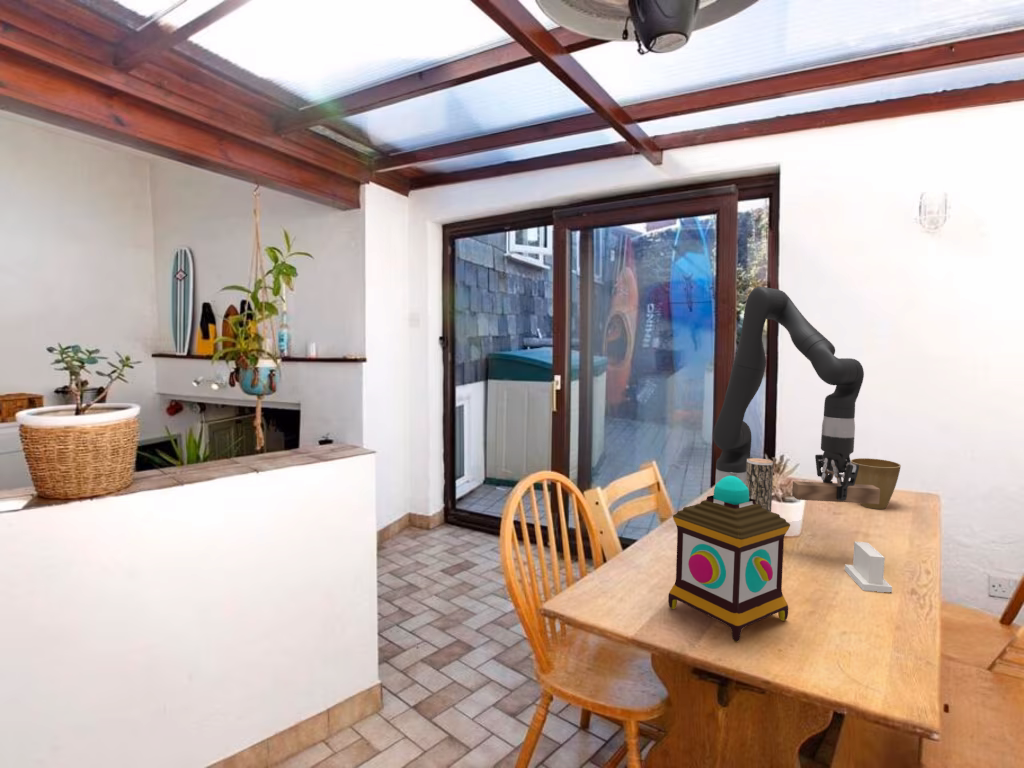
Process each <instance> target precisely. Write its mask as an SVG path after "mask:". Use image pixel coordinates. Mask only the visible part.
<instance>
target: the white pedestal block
mask: <svg viewBox="0 0 1024 768" xmlns="http://www.w3.org/2000/svg"><path fill="white" fill-rule="evenodd" d="M853 543H854V544H853V559H852V564H846V563H845V564H844V572H846V573H847V575H849V577H850V578H851V579H852V581H854V582H855V584H856V585H857V586H858V587H859V588H860V589H861V590H862V591H863V590H864V591H865V592H874V591H877V593H884V592H892V593H893V586H892V585H891V584H889V582H888V581H887V580H886V579H885V576H884V575H885V574H884V573H885V560H886V559H885V558H886V557H885V556H883V555H882V554H881V553H880V552H879V551H878V549H875V547H874V546H872V545H871V544H870V543H869V542H864V541H853Z"/></svg>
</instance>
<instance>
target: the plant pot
mask: <svg viewBox="0 0 1024 768" xmlns="http://www.w3.org/2000/svg"><path fill="white" fill-rule="evenodd" d="M850 460H851V463H853V464H858V465H859V470H858V473H857V477H856V481H855V484H861V485H873V486H875V487H877V488H879V489H880V499H879V504H868V503H860V505H861V506H862V507H865V508H868V509H872V510H885V509H886V508H887V506H888V504H889V502H890V500H891V498H892V496H893V495H894V492H895V489H896V485H897V483H898V480H899V475H900V471H901V467H902V465H901V463H898V462H895V461H892V460H886V459H881V458H868V457H867V458H858V457H857V458H853V459H850Z"/></svg>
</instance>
